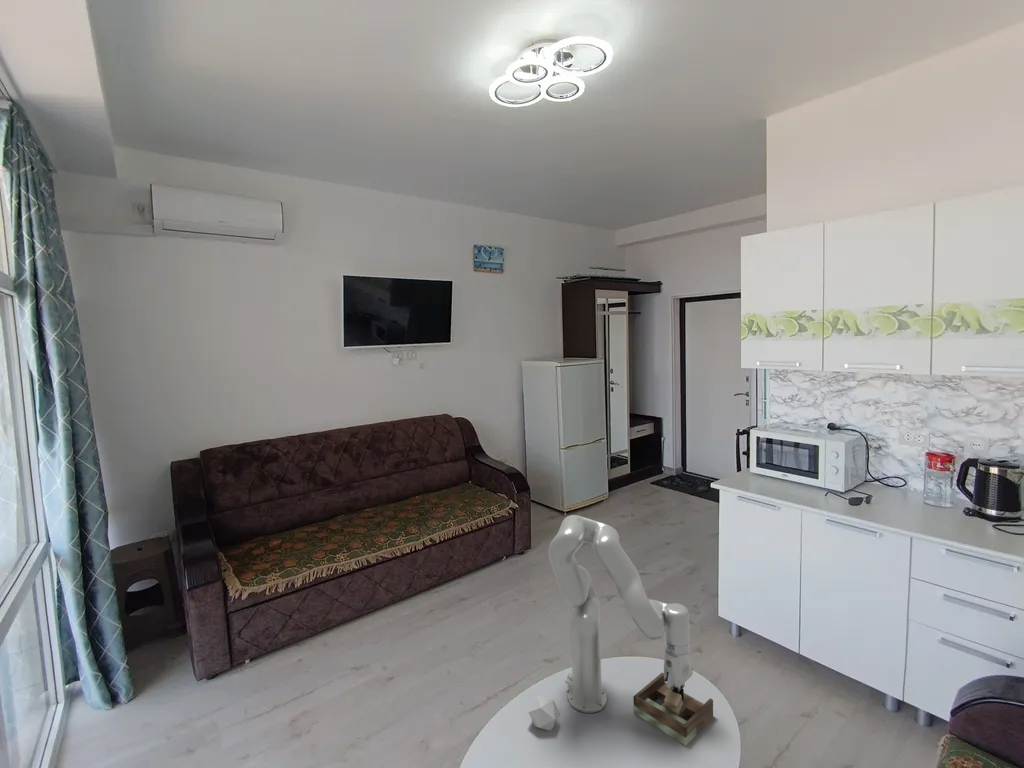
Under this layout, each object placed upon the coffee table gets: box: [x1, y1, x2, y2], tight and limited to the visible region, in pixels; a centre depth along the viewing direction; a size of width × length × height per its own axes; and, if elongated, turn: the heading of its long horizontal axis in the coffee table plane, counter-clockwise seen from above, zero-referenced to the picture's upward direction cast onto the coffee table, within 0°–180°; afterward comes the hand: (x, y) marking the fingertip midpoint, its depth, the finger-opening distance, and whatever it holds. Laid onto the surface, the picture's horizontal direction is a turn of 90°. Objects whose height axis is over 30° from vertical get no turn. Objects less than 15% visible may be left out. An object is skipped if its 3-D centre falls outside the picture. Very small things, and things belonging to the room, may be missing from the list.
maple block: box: [664, 690, 683, 715], centre depth 154 cm, size 4×4×4 cm
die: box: [528, 695, 561, 732], centre depth 153 cm, size 8×9×10 cm
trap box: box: [632, 672, 714, 747], centre depth 155 cm, size 18×16×6 cm
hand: (677, 699), depth 157 cm, fingers closed
